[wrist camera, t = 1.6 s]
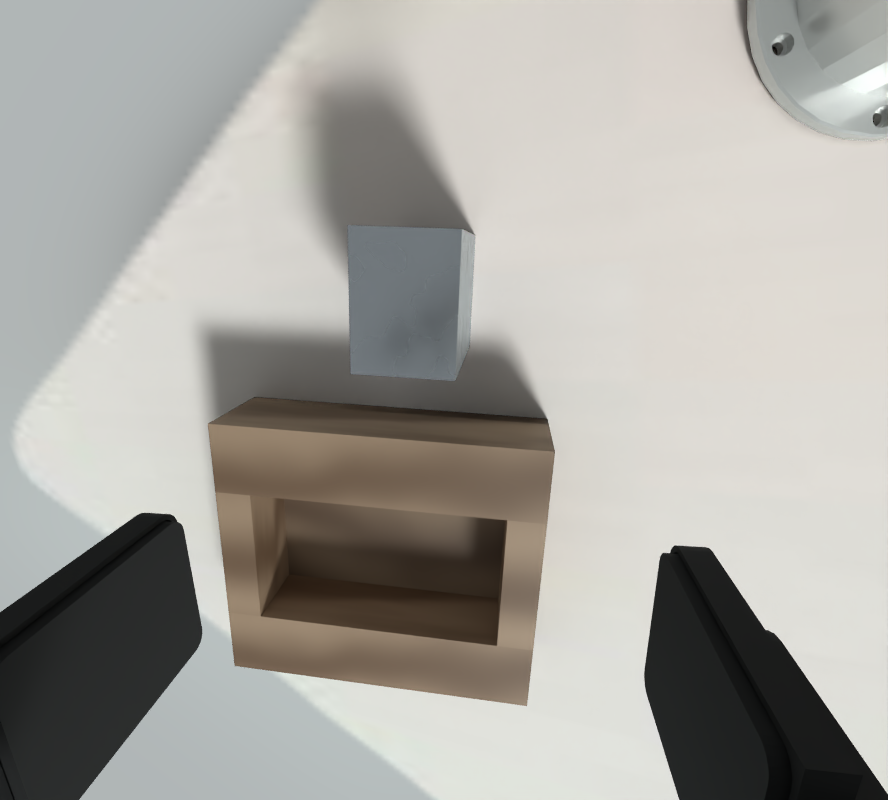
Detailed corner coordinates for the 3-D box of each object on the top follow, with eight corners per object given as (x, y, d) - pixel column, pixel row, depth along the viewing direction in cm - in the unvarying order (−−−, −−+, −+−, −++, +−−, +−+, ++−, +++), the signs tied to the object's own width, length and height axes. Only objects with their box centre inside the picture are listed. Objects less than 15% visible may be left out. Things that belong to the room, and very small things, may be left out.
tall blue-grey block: (393, 232, 27) (347, 225, 19) (475, 235, 26) (462, 228, 19) (392, 341, 29) (350, 374, 21) (469, 346, 28) (455, 381, 20)
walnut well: (254, 397, 31) (208, 423, 26) (547, 418, 29) (554, 451, 24) (271, 610, 35) (234, 665, 31) (524, 641, 33) (526, 705, 29)
